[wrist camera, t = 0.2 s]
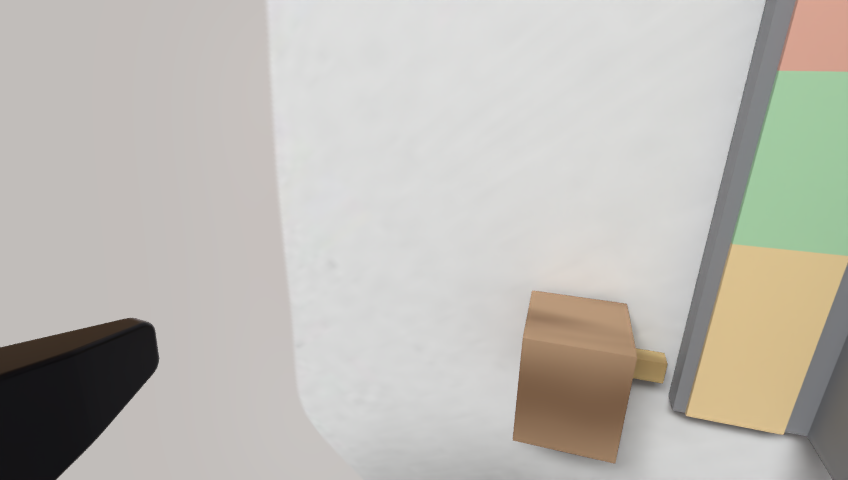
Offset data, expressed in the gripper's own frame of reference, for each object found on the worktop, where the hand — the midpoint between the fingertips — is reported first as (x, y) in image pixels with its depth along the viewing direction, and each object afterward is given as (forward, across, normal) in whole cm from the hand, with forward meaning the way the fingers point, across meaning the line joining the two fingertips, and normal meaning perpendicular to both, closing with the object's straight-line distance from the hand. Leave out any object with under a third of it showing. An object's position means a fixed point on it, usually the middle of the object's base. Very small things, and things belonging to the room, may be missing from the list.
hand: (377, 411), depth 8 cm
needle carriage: (+14, -4, +6) cm, 16 cm away
